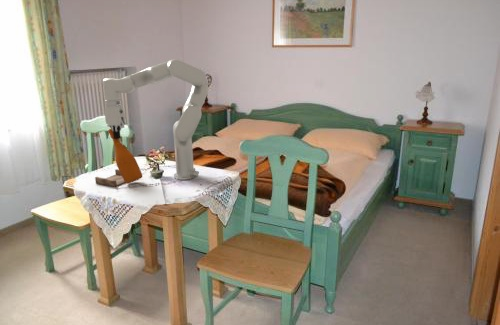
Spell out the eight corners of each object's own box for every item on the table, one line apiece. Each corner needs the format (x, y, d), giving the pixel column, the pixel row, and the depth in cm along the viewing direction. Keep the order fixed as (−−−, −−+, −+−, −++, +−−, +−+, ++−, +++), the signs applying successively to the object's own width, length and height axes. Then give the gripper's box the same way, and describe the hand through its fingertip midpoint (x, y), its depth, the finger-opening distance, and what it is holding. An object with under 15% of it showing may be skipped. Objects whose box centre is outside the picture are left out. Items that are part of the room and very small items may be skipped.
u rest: (136, 178, 214) (135, 172, 213) (115, 187, 201) (114, 181, 200) (117, 175, 220) (116, 169, 219) (95, 183, 207) (95, 177, 206)
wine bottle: (137, 178, 198) (112, 125, 197) (122, 186, 201) (97, 133, 200) (146, 175, 207) (123, 124, 207) (132, 182, 210) (108, 132, 209)
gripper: (129, 103, 196) (133, 138, 201) (108, 101, 202) (112, 135, 208) (118, 105, 190) (122, 141, 195) (96, 103, 196) (101, 138, 201)
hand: (117, 138), depth 201 cm, fingers closed
